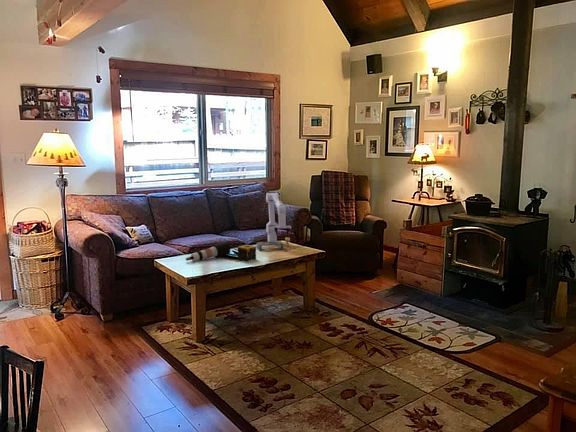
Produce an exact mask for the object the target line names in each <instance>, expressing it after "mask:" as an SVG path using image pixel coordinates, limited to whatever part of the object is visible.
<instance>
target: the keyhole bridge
mask: <svg viewBox="0 0 576 432" xmlns="http://www.w3.org/2000/svg"><path fill="white" fill-rule="evenodd" d="M268 243H269V244H268ZM264 246H277V248H278V249H280V250H284V242H282V241H281V240H277V241H272V242H268V241H258V242H257V241H256V250H258V251H259V252H262V251H263V249H262V248H263V247H264Z"/></svg>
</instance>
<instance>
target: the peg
mask: <svg viewBox="0 0 576 432" xmlns="http://www.w3.org/2000/svg"><path fill="white" fill-rule="evenodd" d="M284 241H285V246H286V247H289V246H290V243H289V242H290V241H291V238H290V237H288V236H287V238H286V237H284Z"/></svg>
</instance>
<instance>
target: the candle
mask: <svg viewBox="0 0 576 432" xmlns="http://www.w3.org/2000/svg"><path fill="white" fill-rule="evenodd" d="M237 260H238V261H241V262H250V261H254V260H257V245H256V246H255V245H251V244H244V245H239V246H237Z"/></svg>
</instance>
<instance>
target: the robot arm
mask: <svg viewBox="0 0 576 432" xmlns="http://www.w3.org/2000/svg"><path fill="white" fill-rule="evenodd" d="M279 198H280V195H279V193H278V192H266V195H265V202H266V203H267V204H268V219H269V221H268V222H267V223H266V225H265V226H266V227H265V232H266V233H267V242H272V241H278V239H277V238H278V237H279V230H280V229H286V238H287V237H288V235H289V232H290V230H291V229H292V226H291V225H287V224H286V223H287V222H286V220H287V219H286V217H287V216H286V215H287V214H286V213H287V210H288V207H287V206H286V205H284V203H283V202H282V201H281V200H280V199H279ZM275 207H276V209H277V215H278V223H277V221H276V219H275V218H276V215H275ZM267 244H269V243H267Z"/></svg>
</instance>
